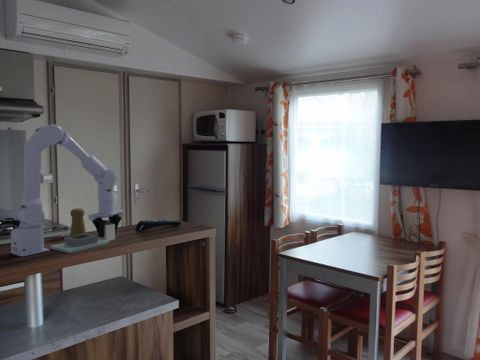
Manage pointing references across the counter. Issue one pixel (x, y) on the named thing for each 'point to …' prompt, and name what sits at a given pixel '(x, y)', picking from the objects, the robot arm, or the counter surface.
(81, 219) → the cork
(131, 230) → the counter surface
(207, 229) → the counter surface
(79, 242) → the socket
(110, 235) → the plug
